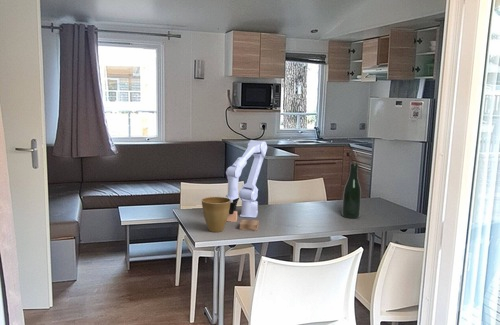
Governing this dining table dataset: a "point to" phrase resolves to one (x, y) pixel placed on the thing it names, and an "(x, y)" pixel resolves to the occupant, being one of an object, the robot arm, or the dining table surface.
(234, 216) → the terracotta cube
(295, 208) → the dining table surface
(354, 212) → the green glass bottle
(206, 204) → the plant pot
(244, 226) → the tan square slab
